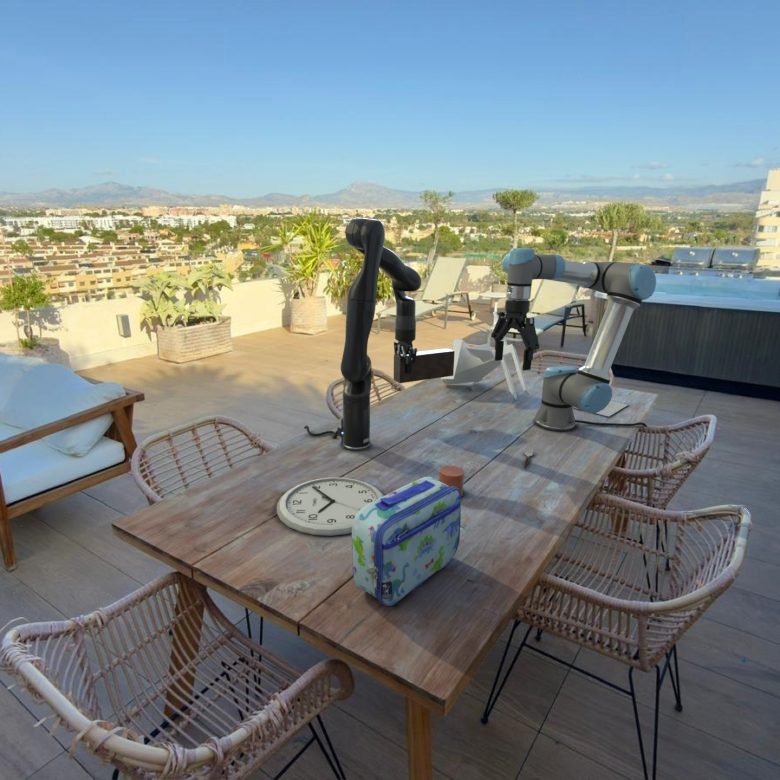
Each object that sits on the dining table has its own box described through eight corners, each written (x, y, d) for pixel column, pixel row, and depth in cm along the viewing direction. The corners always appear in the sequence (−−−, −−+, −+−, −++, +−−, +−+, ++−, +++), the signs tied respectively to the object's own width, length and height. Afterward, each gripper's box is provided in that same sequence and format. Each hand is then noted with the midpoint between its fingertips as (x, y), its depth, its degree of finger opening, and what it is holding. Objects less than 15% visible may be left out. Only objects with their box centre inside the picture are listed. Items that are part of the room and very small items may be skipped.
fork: (520, 469, 166) (521, 463, 165) (526, 450, 180) (526, 444, 180) (528, 470, 165) (529, 464, 164) (533, 451, 179) (534, 445, 179)
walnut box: (446, 372, 209) (447, 348, 206) (453, 375, 205) (454, 350, 202) (393, 380, 198) (393, 354, 195) (399, 383, 194) (400, 357, 191)
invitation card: (608, 416, 214) (573, 407, 224) (608, 416, 214) (573, 408, 224) (628, 404, 229) (594, 396, 238) (628, 405, 229) (594, 397, 238)
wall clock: (392, 527, 129) (268, 531, 127) (391, 533, 130) (269, 537, 127) (383, 473, 158) (282, 475, 155) (383, 478, 158) (282, 480, 156)
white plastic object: (461, 429, 252) (437, 405, 227) (444, 352, 274) (420, 323, 250) (535, 404, 240) (518, 377, 215) (510, 326, 262) (492, 293, 237)
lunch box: (381, 619, 101) (382, 525, 95) (345, 592, 109) (344, 503, 102) (464, 563, 119) (469, 480, 113) (428, 543, 126) (432, 464, 120)
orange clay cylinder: (462, 487, 154) (464, 466, 152) (463, 499, 147) (464, 477, 145) (438, 486, 154) (439, 464, 152) (438, 497, 148) (439, 475, 146)
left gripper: (387, 324, 196) (386, 368, 201) (406, 331, 184) (405, 377, 189) (404, 323, 199) (404, 366, 204) (424, 329, 187) (422, 375, 192)
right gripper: (483, 295, 172) (479, 357, 179) (537, 305, 151) (529, 375, 158) (501, 294, 176) (496, 355, 182) (556, 303, 155) (548, 372, 161)
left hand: (404, 371), depth 197 cm, fingers closed on walnut box, 5 cm apart
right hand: (512, 365), depth 170 cm, fingers open, 13 cm apart
